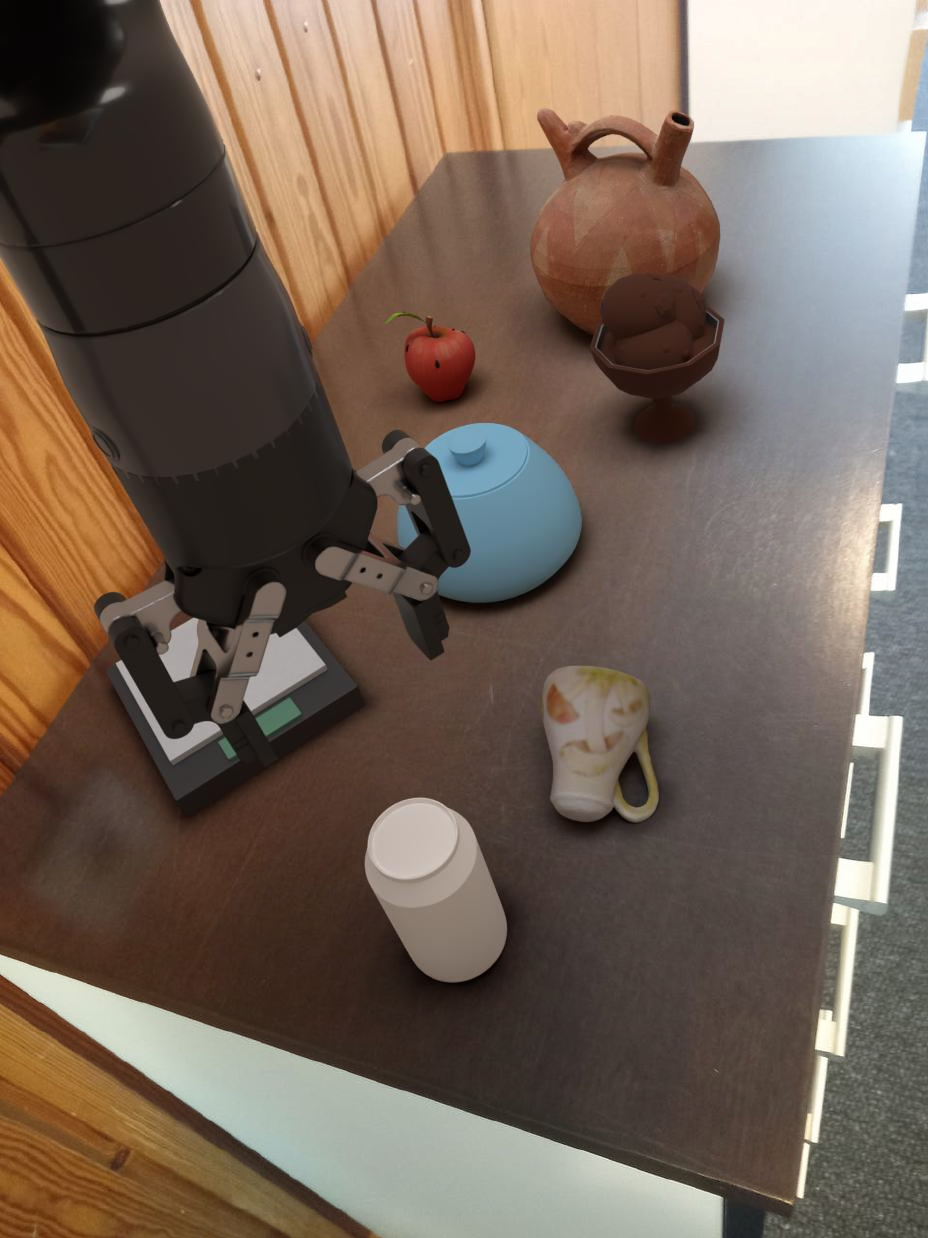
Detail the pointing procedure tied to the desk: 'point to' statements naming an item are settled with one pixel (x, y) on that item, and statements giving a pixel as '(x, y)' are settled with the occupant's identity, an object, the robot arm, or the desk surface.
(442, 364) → the apple
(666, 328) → the ice cream bowl
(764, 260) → the desk surface
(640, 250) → the jug
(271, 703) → the scale
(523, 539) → the sugar bowl
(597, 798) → the mug
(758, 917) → the desk surface
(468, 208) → the desk surface
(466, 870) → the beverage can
